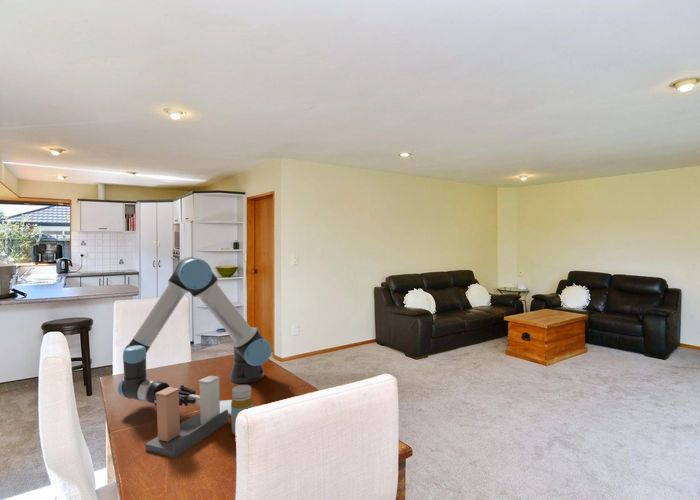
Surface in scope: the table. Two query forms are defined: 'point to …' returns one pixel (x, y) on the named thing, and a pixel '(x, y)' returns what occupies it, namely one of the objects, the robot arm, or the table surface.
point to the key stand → (187, 435)
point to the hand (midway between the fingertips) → (204, 401)
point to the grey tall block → (209, 398)
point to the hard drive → (225, 406)
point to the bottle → (240, 401)
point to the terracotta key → (168, 413)
